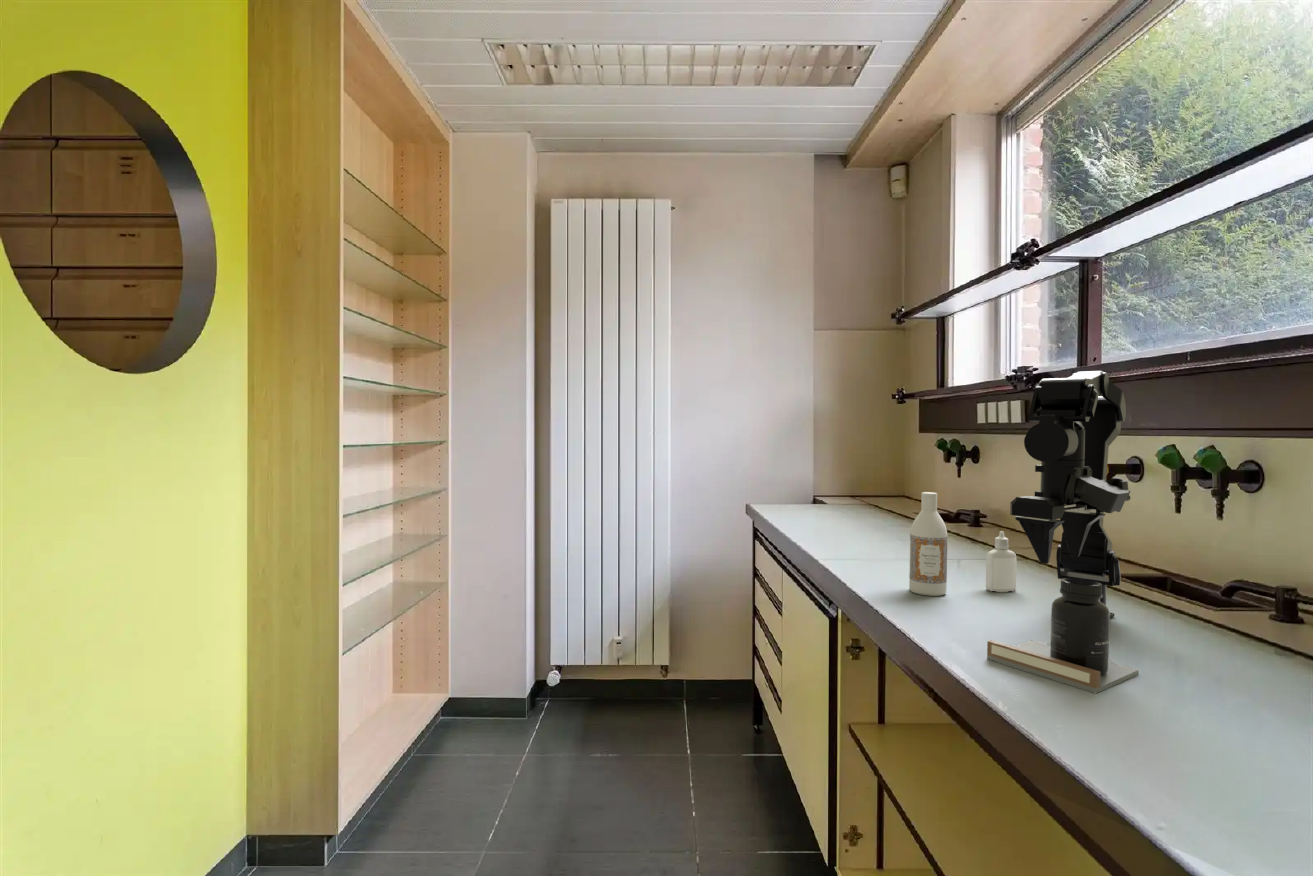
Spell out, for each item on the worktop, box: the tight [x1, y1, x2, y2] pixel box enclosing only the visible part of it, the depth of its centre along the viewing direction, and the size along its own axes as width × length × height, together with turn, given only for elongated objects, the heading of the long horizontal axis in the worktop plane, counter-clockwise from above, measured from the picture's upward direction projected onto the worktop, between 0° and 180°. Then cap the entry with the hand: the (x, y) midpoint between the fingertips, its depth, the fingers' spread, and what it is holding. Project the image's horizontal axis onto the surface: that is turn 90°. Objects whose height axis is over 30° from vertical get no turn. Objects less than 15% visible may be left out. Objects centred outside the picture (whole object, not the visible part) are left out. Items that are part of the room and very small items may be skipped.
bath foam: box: [908, 491, 948, 597], centre depth 135 cm, size 7×7×20 cm
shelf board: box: [986, 639, 1140, 694], centre depth 95 cm, size 12×14×3 cm
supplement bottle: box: [1049, 578, 1111, 676], centre depth 93 cm, size 7×7×12 cm
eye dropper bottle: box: [985, 530, 1017, 593], centre depth 137 cm, size 4×6×12 cm
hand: (1059, 560), depth 105 cm, fingers open, 9 cm apart
